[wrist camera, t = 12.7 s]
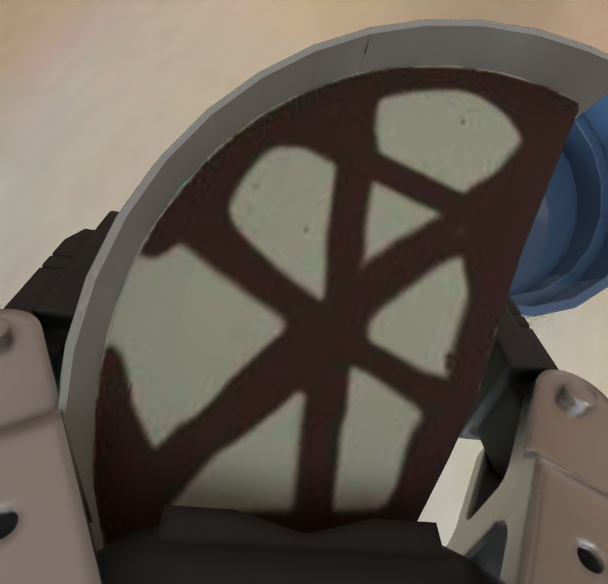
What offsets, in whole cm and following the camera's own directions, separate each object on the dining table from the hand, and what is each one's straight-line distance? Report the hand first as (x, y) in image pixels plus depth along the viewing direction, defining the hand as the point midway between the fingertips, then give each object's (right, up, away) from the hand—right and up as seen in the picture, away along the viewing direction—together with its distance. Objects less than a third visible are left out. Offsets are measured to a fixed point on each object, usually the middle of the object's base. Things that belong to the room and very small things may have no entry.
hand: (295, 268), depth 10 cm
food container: (-1, -2, +5) cm, 5 cm away
